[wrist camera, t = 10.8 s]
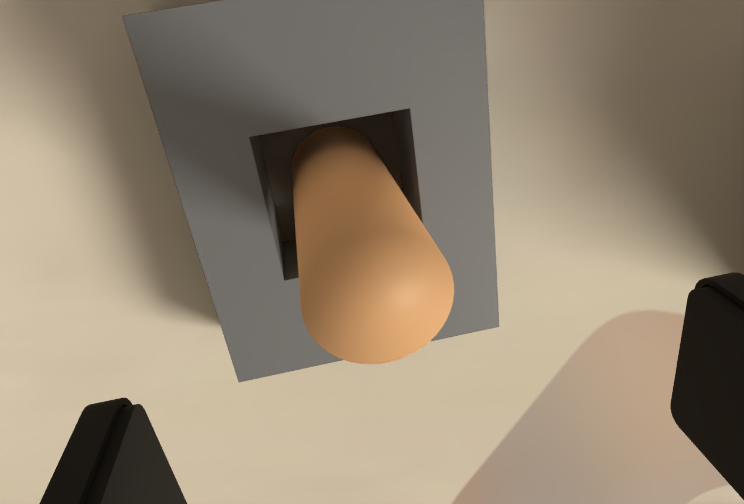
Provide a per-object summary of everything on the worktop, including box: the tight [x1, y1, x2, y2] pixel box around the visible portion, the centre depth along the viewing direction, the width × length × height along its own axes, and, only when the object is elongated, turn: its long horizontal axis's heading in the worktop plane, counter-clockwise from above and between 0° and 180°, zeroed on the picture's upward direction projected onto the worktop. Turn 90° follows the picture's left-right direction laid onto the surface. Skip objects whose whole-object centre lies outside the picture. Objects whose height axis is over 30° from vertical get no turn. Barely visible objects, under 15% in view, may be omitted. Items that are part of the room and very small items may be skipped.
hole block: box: [122, 0, 499, 382], centre depth 23 cm, size 15×12×4 cm
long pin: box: [292, 126, 454, 364], centre depth 19 cm, size 4×4×12 cm
